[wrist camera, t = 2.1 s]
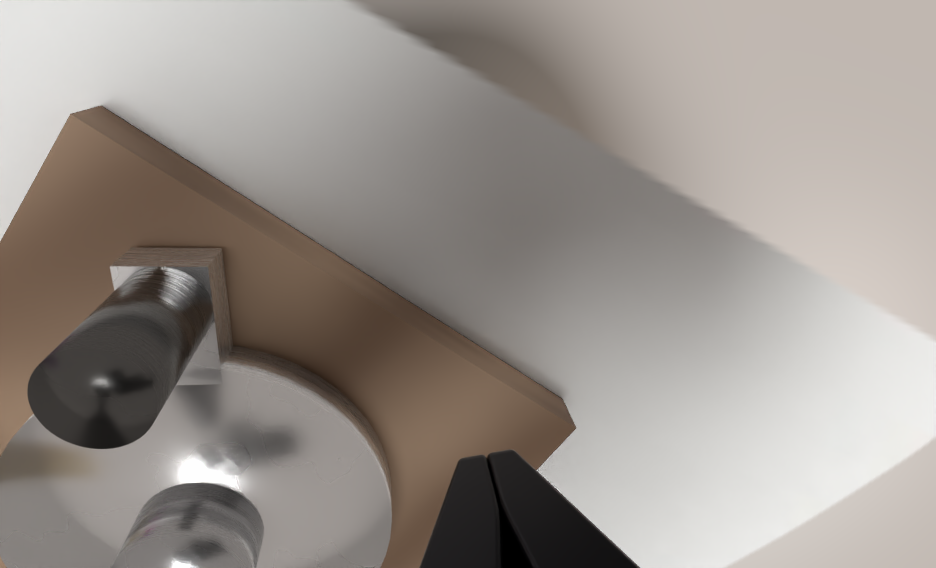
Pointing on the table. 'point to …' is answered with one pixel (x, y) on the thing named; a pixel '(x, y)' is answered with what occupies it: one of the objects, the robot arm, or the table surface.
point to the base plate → (260, 312)
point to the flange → (186, 442)
